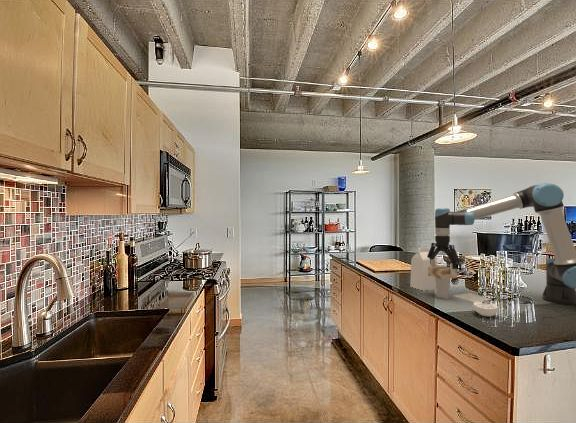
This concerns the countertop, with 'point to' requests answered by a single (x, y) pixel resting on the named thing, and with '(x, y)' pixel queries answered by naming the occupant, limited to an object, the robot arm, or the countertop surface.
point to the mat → (472, 297)
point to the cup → (442, 287)
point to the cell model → (486, 308)
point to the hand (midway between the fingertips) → (442, 272)
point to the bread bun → (441, 272)
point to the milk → (422, 271)
